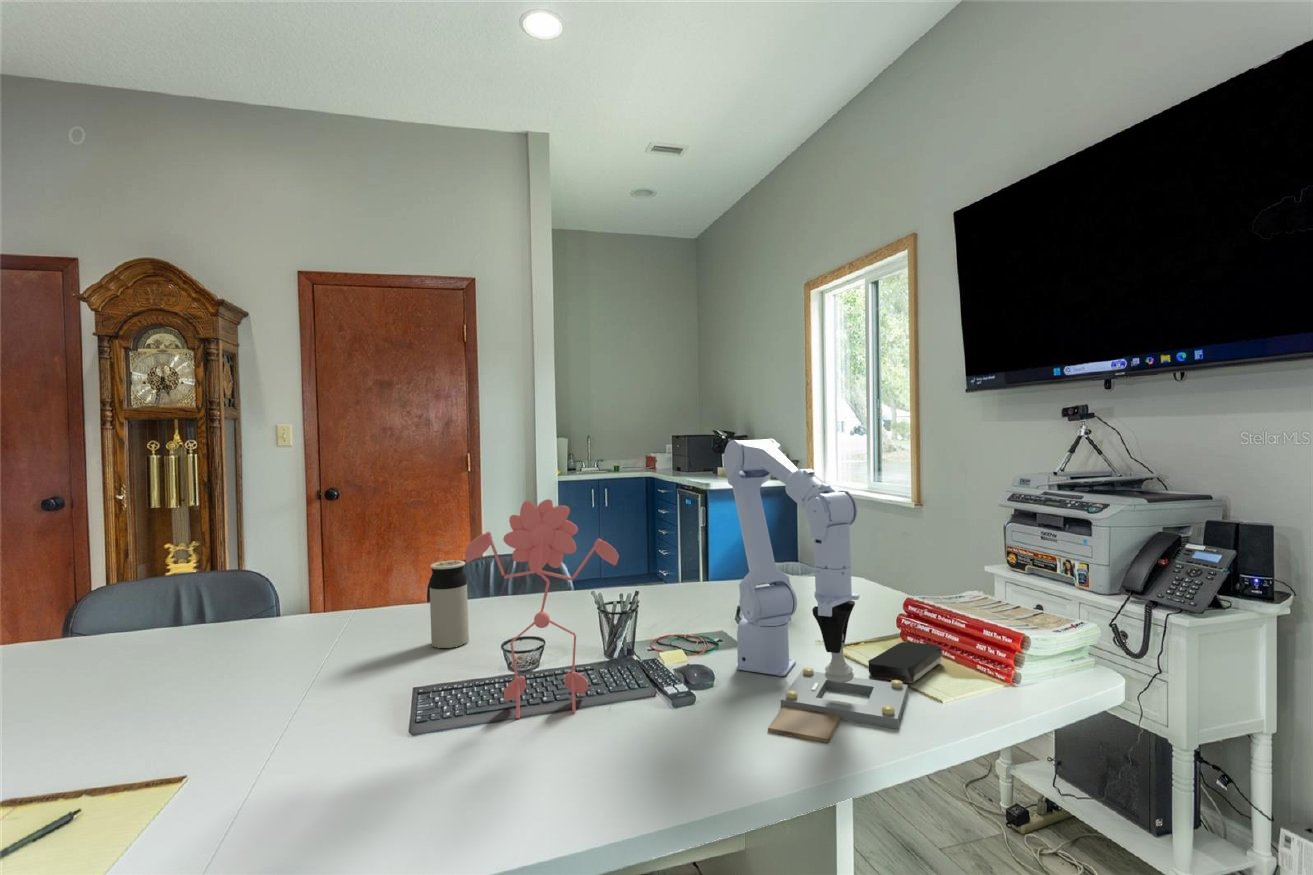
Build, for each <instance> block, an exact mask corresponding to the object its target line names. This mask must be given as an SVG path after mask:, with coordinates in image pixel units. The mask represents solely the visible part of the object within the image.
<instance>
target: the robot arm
mask: <svg viewBox="0 0 1313 875" xmlns="http://www.w3.org/2000/svg"><path fill="white" fill-rule="evenodd" d="M781 446H782V445H781V444H780V443H778V442H777V440H775V439H773V438H765V439H748V440H747V439H744V440H741V439H740V440H737V439H731V440H729V441H728V442H727V443H726V447H725V449H724V452H723V456H722V458H723V464H724V469H725V474H726V480H727V483H728V484H729V485H730V486H732V491H733V496H734V502H735V505H736V511H737V517H738V521H739V526H740V529H741V530H740V531H741V537H742V541H743V545H744V551H745V556H746V560H747V567H748V570H749V572H748V573H747V574H746V575H745V576H744V578H743V579H742V580H741V581H740V582H739V584H738V588H739V609H740V611H741V614H742V616H743V617H744V618H742V619H740V621H739V622H738V625H737V632H736V633H737V634H736V643H737V644H736V645H737V649H736V650H737V666H736V669H737V670H740V671H745V672H753V673H760V674H765V675H772V676H777V677H779V676H781V677H785V676H787V674H788V673H789V672H790V670H791V669H792V668H793V667H794V665H795V664H796V660H795V659H791V658H790V652H789V651H790V649H789V648H790V645H789V622H790V621H792V616H793V615H794V614H795V613H796V611H797V607H798V598H797V595H796V592H795V590H794V589H793V587H792V584H791V581H790V576H789V575H788V574H786V573H785V572H783V571H782V570H781V569H780V568H777V566H776V561H775V557H774V552H773V547H772V543H771V538H770V537H771V536H770V534H769V529H768V524H767V518H766V515H765V510H764V506H763V501H762V500H763V499H762V496H761V487H762V485H764V484H765V483H767V482H768V481H769V479H770V478H771V476H773V477H775V478H776V479H778V480H779V481H780V482H782V483H783V484H784V485H785V488H784V489H785V493H786V495H787V496H788V497H789V498H791V499H792V500H793V501H794V502H795V503H797V505H798V506H800V507H801V508H802V510H804V513H805V514H804V515H805V517H806V521H807V522H808V524H809V532H810V533H809V534H810V535H811V538H813V550H814V551H813V552H814V553H813V554H814V555H813V557H814V583H815V585H814V586H815V589H814V590H815V591H814V595H813V597H814V598H815V601H816V603H817V606H815V605H814V607H812V609H811V610H812V616H813V617H814V619H815V621H816V622H817V624H818V627H819V629H820V633H821V637H822V639H823V645H824V648H825V651H826V653H831V654H832V653H840V650H841V646H842V642H843V643H846V639H847V638H846V637H847V631H848V627H849V626H848V625H849V620H850V617H851V614H852V612H853V610H854V607H855V605H856V602H855V601H858V600H859V599H860V593H858V592H853V590H852V587H853V586H852V564H851V562H852V561H851V559H852V558H851V532H850V530H851V528H850V526H851V525H853V524H854V523H855V522H856V519H857V515H858V506H857V504H856V503H857V502H856V500H855V498H854V497H853V496H852V494H850V492H849V491H848V490H844V489H842V490H837V489H833V488H832V486H831V485H830V484H829V483H826V482H825V481H823V480H822V479H821V478H819V477H818V476H817V475H816V473H815V471H814V470H813V469H812V468H807V469H806V468H801V469H798V467H797V466H796V465H795V464H794V463H793V462H792V461H791V460H790V459H789V458H788V457H787V456H786V455H785V454H783V451H782V447H781ZM769 584H770V585H769ZM760 585H761V586H760ZM763 585H766V586H763ZM758 586H760V587H758ZM843 635H844V639H843V641H842V637H843Z"/></svg>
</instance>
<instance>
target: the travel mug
mask: <svg viewBox="0 0 1313 875" xmlns="http://www.w3.org/2000/svg"><path fill="white" fill-rule="evenodd" d="M465 564H466V561H464V560H444V561H437V562H433V563H432V564H430V566H429V567H430V569H431V573H432V574H431V576H430V578H429V604H430V605H429V608H430V609H429V610H430V633H431V634H430V636H431V638H430V639H431V647H433V646H434V648H436V647H437V648H436V649H439V648H450V649H452V648H451V647H456V646H459V647H462V646H464V645H465V644H466V643H468V642H469V641H470V637H469V636H470V635H469V633H470V630H469V606H468V605H469V602H468V576H467V574H466V573H465V572H464V568H465ZM463 644H464V645H463ZM461 645H462V646H461ZM456 648H457V647H456Z"/></svg>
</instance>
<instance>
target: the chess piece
mask: <svg viewBox="0 0 1313 875" xmlns="http://www.w3.org/2000/svg"><path fill="white" fill-rule="evenodd" d="M843 639H844V635H843V637H842V641H843ZM845 643H846V642H845ZM845 643H843V642H842V646H841V650H840V653H831V659H830V662H829V664H828V665H827V666H825V668H824V670H825V672H824V673H825V677H826V678H827V679H828V680H829V681H832V682H836V683H844V682H848V681H851V680H852V679H853V677H855V673H854V672H853V670H854V669H853V667H852V666H851V665H849V664H848V663H847V662H846V660H845V657H844V648H845V647H846V644H845Z"/></svg>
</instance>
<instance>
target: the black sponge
mask: <svg viewBox="0 0 1313 875" xmlns="http://www.w3.org/2000/svg"><path fill="white" fill-rule="evenodd" d="M942 656H943V650H942V646H938V645H936V644H934V643H933V644H931V643H927V642H926V643H924V642H912V641H902V642H901V641H900V642H898V643H897V644H895V645H893V646H892V647H890V648H888V649H886V650H885V651H883V652H881V653H880V654H877V656H875V657H873V658H871V659H868V660H867V662H868V673H869V676H870V677H872V678H876V679H877V678H878V679H882V680H887V681H892V680H899V681H902V682H903V683H907V684H913V683H914V682H916V681H917V680H919V679H921V677H923V676H924V675H926V674H927V673H928V672H929V671H931V670H932V669H933V668H935V667H936V666H937V665H939V664H940V663H941V661H942Z"/></svg>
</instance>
